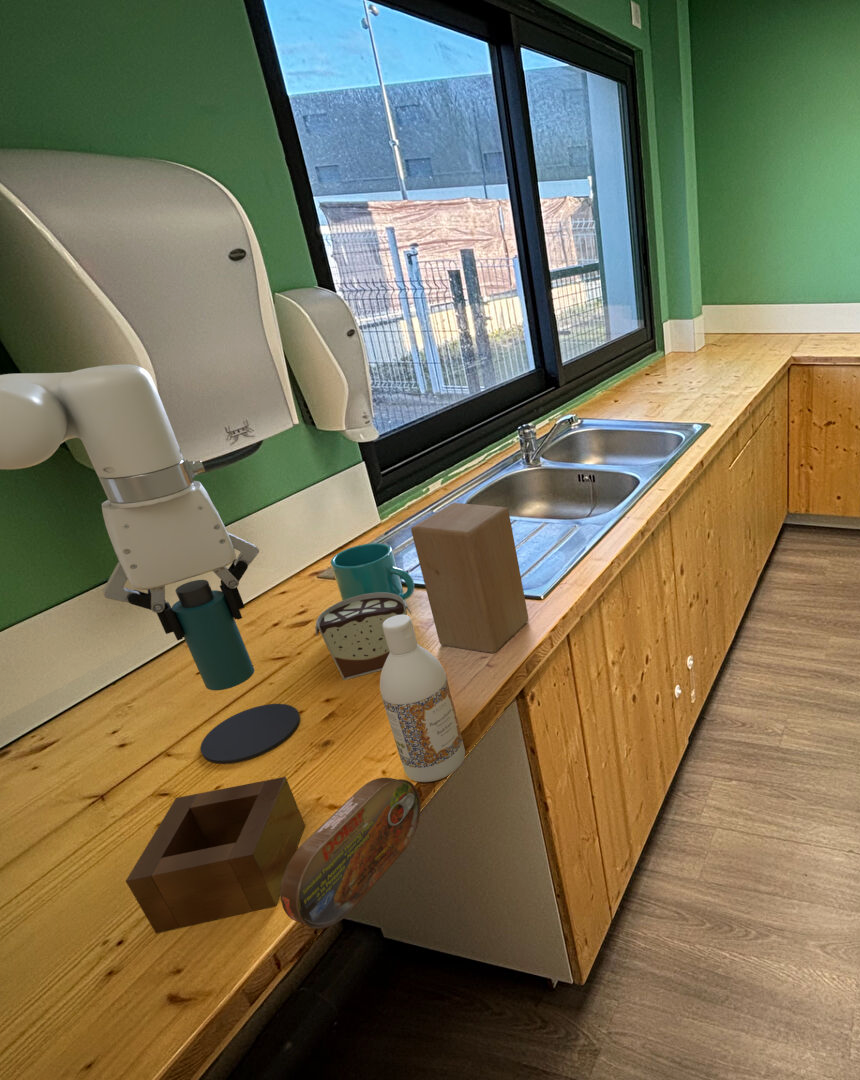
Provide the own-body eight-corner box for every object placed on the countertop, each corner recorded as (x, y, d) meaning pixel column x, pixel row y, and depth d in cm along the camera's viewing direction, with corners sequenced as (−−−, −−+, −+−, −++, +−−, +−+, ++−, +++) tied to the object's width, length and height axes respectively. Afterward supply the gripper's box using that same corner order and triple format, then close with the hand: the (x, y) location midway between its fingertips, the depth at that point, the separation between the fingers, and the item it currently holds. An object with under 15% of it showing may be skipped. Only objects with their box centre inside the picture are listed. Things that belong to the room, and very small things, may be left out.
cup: (407, 630, 112) (390, 568, 107) (337, 629, 113) (318, 567, 108) (433, 601, 120) (419, 542, 115) (368, 601, 121) (351, 542, 117)
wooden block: (438, 645, 107) (408, 527, 99) (477, 613, 116) (453, 501, 108) (494, 654, 104) (468, 533, 96) (530, 620, 113) (509, 506, 105)
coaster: (186, 772, 84) (184, 768, 84) (221, 715, 94) (220, 712, 94) (286, 753, 87) (284, 750, 86) (310, 700, 96) (309, 697, 96)
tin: (317, 950, 63) (288, 884, 59) (291, 940, 64) (261, 875, 60) (430, 823, 76) (412, 763, 72) (406, 816, 76) (388, 757, 73)
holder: (155, 933, 65) (125, 881, 62) (200, 847, 74) (175, 797, 71) (276, 906, 67) (252, 854, 64) (305, 825, 76) (285, 776, 73)
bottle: (198, 694, 84) (156, 600, 78) (215, 669, 88) (176, 579, 83) (246, 686, 85) (207, 592, 79) (260, 662, 90) (225, 572, 84)
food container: (420, 639, 109) (405, 583, 105) (423, 659, 104) (408, 600, 100) (333, 661, 105) (313, 603, 101) (331, 683, 100) (311, 623, 95)
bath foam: (433, 792, 80) (390, 644, 71) (392, 773, 83) (347, 629, 74) (478, 754, 85) (444, 612, 77) (438, 737, 88) (401, 599, 80)
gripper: (230, 456, 84) (278, 588, 91) (43, 497, 73) (114, 643, 81) (246, 469, 79) (295, 608, 86) (47, 515, 68) (123, 669, 76)
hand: (207, 623), depth 83 cm, fingers closed on bottle, 5 cm apart
